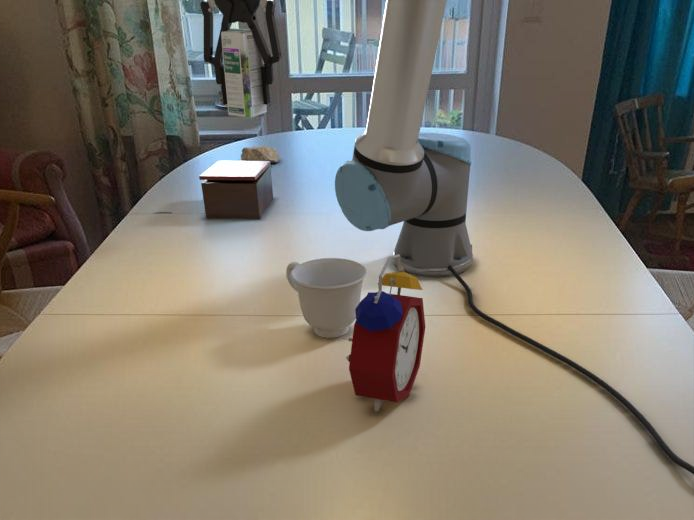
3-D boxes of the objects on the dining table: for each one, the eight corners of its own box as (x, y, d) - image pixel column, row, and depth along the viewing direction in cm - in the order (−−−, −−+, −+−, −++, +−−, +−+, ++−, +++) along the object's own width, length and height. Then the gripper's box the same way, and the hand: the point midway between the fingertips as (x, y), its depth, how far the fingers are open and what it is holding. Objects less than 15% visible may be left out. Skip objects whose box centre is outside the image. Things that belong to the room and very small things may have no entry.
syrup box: (227, 115, 145) (218, 30, 137) (246, 110, 149) (238, 26, 140) (249, 118, 143) (241, 32, 134) (268, 113, 147) (262, 28, 138)
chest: (259, 219, 167) (256, 183, 162) (205, 218, 168) (201, 183, 163) (273, 198, 179) (270, 164, 174) (223, 197, 180) (219, 164, 176)
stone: (242, 159, 209) (240, 142, 207) (279, 158, 210) (277, 141, 207) (240, 167, 203) (238, 149, 200) (278, 166, 203) (276, 148, 200)
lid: (255, 180, 161) (254, 176, 160) (199, 179, 162) (199, 176, 162) (270, 164, 174) (270, 161, 174) (218, 164, 176) (218, 160, 175)
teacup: (314, 304, 129) (311, 248, 123) (382, 326, 121) (382, 268, 115) (266, 329, 122) (261, 270, 116) (335, 354, 114) (333, 293, 108)
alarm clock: (392, 424, 98) (395, 281, 86) (332, 413, 101) (327, 272, 88) (424, 373, 109) (431, 239, 97) (369, 364, 111) (369, 232, 99)
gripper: (293, -41, 133) (300, 99, 147) (184, -40, 135) (202, 98, 149) (286, -39, 127) (294, 107, 141) (172, -37, 129) (191, 106, 143)
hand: (246, 102), depth 145 cm, fingers closed on syrup box, 7 cm apart
